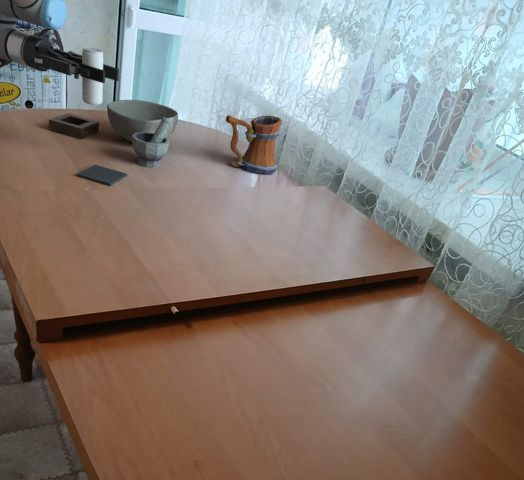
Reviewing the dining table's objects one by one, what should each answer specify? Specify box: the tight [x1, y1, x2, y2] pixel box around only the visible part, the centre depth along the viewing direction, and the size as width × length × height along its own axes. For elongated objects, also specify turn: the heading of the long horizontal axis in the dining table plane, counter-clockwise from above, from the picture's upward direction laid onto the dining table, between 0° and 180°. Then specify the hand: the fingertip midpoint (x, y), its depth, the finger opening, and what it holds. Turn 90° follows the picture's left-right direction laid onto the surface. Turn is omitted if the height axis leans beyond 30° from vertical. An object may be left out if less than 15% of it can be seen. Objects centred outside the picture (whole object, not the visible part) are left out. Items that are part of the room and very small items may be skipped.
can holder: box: [48, 112, 100, 140], centre depth 159 cm, size 10×10×3 cm
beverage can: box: [81, 46, 104, 106], centre depth 133 cm, size 5×5×12 cm
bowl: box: [106, 99, 179, 143], centre depth 161 cm, size 20×20×10 cm
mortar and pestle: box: [131, 117, 171, 169], centre depth 147 cm, size 11×9×12 cm
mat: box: [76, 164, 128, 187], centre depth 137 cm, size 9×9×1 cm
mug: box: [225, 114, 283, 175], centre depth 159 cm, size 18×12×15 cm, turn 113°
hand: (110, 75), depth 131 cm, fingers closed on beverage can, 5 cm apart
